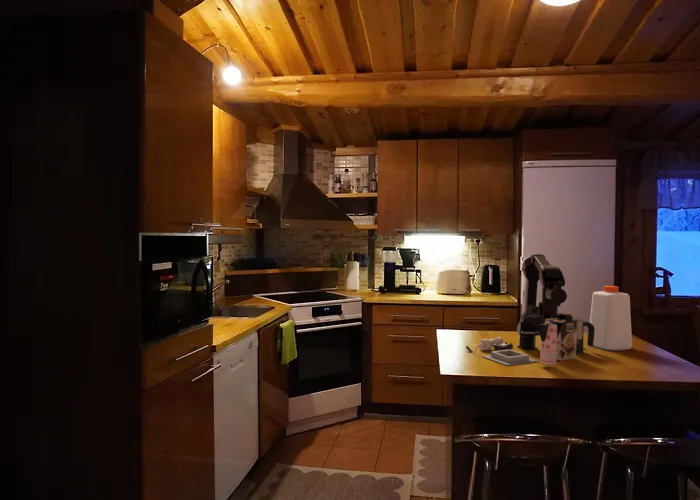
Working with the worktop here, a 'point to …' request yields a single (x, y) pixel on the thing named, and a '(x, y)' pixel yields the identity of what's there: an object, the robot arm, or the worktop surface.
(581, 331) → the milk frother
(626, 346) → the plastic bottle
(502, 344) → the clip-on lamp
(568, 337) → the coffee box
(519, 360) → the grey plate with frame
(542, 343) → the beverage can
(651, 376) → the worktop surface
